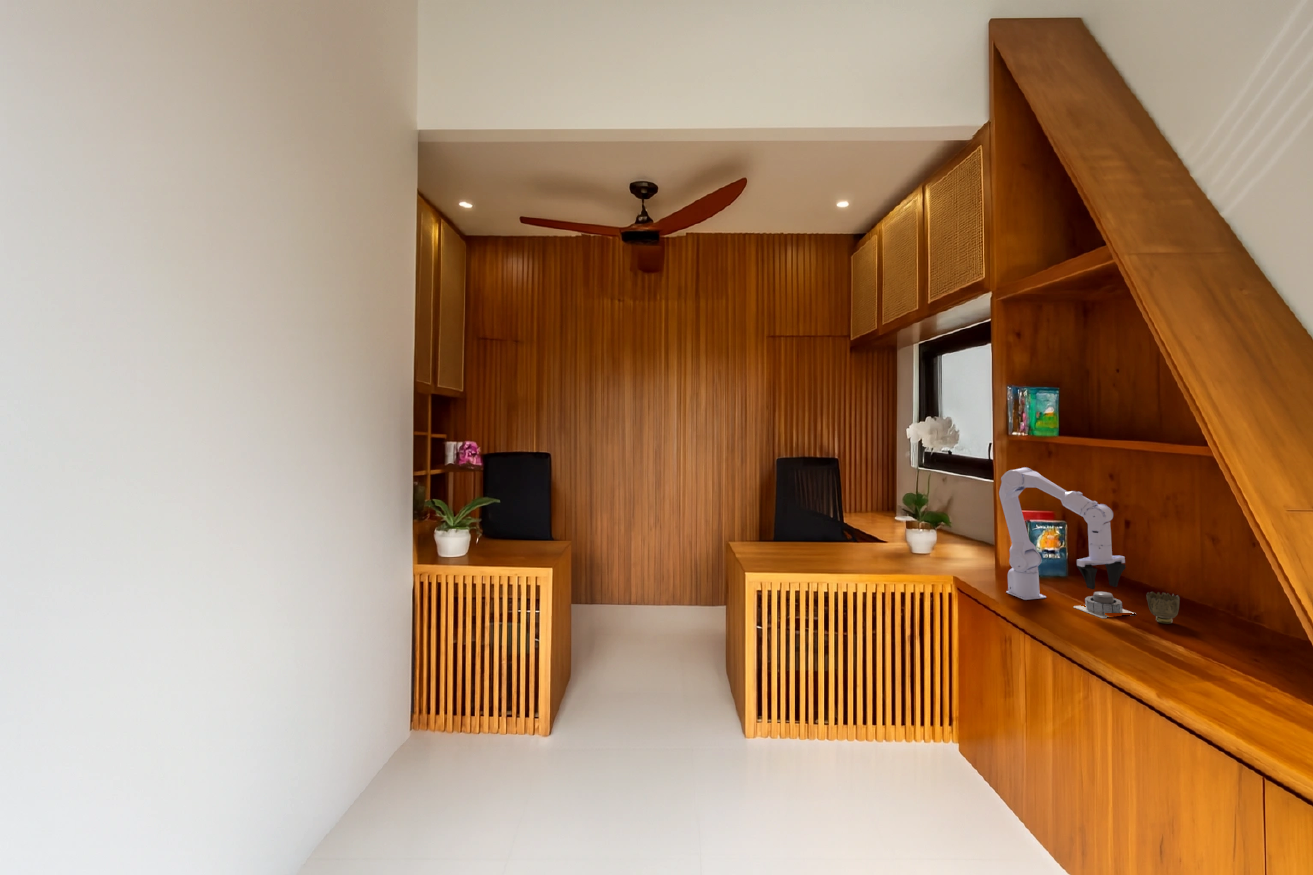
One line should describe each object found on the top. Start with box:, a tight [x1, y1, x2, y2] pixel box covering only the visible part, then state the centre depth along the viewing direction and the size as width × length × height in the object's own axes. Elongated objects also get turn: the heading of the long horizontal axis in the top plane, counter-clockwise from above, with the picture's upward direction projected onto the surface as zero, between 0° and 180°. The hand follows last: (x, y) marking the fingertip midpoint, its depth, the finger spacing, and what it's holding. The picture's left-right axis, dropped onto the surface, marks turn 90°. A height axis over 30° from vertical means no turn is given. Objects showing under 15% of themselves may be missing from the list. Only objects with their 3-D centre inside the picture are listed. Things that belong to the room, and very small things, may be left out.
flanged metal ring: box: [1073, 595, 1137, 619], centre depth 182 cm, size 11×11×3 cm
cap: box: [1092, 591, 1114, 604], centre depth 182 cm, size 5×5×5 cm
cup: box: [1145, 591, 1181, 625], centre depth 170 cm, size 8×7×8 cm
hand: (1102, 587), depth 182 cm, fingers open, 7 cm apart
